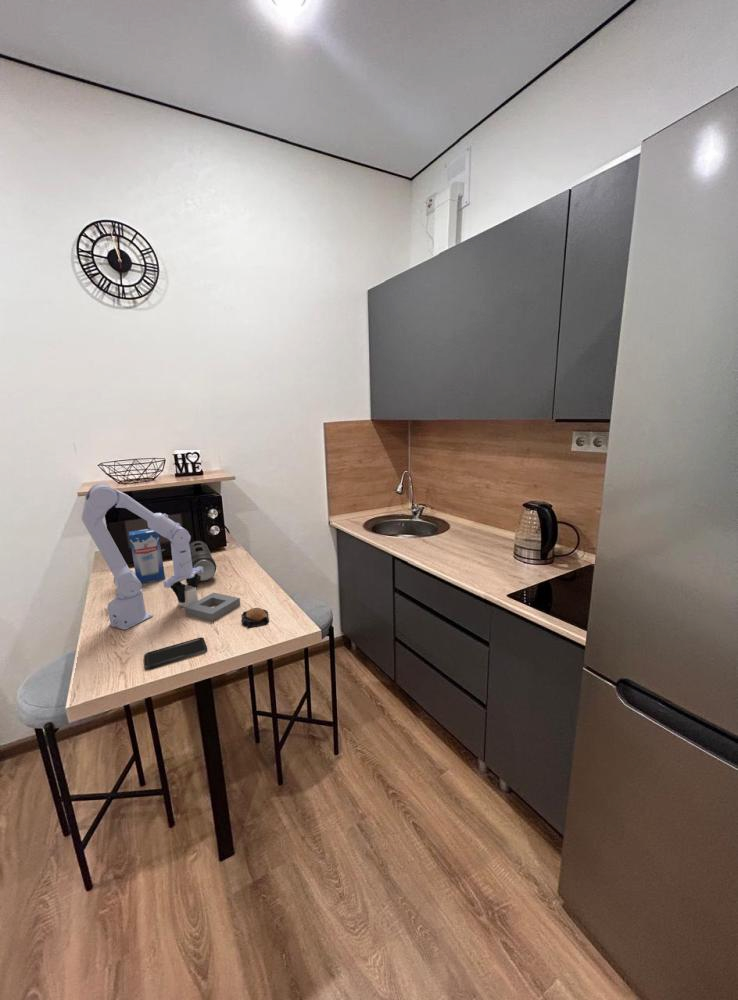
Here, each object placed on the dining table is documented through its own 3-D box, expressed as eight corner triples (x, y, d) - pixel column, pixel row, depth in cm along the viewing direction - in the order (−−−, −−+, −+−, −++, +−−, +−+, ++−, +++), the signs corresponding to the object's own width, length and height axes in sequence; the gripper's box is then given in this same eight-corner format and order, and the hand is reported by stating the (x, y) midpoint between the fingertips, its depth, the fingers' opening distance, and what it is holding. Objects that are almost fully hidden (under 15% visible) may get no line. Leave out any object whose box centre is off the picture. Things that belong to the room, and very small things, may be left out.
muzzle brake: (210, 560, 181) (207, 538, 179) (218, 581, 157) (215, 556, 154) (187, 564, 177) (184, 542, 175) (192, 587, 152) (188, 561, 150)
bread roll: (239, 616, 129) (238, 606, 128) (266, 611, 132) (265, 600, 131) (243, 632, 119) (242, 620, 119) (272, 625, 122) (270, 614, 122)
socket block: (212, 621, 125) (211, 614, 125) (185, 614, 130) (184, 607, 130) (240, 604, 136) (239, 598, 135) (214, 599, 141) (213, 592, 140)
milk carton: (164, 573, 166) (157, 527, 162) (165, 578, 161) (158, 530, 157) (136, 579, 161) (128, 531, 157) (137, 584, 156) (128, 535, 152)
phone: (143, 653, 108) (203, 636, 115) (144, 657, 108) (203, 640, 115) (144, 668, 101) (207, 649, 108) (145, 672, 101) (208, 653, 109)
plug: (188, 607, 135) (186, 590, 134) (178, 604, 138) (175, 587, 136) (198, 602, 139) (195, 585, 138) (187, 600, 141) (185, 583, 140)
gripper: (171, 571, 127) (177, 610, 130) (207, 556, 140) (212, 592, 143) (156, 568, 130) (162, 606, 133) (193, 553, 143) (198, 589, 146)
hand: (187, 599), depth 138 cm, fingers closed on plug, 4 cm apart
